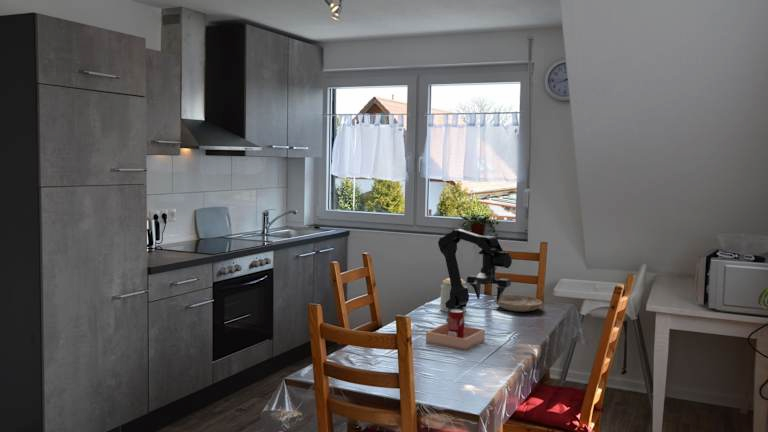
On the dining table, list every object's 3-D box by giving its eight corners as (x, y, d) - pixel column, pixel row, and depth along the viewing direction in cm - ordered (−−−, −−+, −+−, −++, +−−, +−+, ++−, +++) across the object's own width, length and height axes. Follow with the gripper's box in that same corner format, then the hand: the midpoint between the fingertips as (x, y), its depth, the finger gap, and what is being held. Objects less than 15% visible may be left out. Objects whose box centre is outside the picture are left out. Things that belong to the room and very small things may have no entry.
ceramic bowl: (513, 316, 328) (514, 306, 327) (484, 306, 348) (485, 296, 348) (551, 312, 338) (552, 302, 338) (521, 302, 359) (521, 293, 358)
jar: (470, 309, 340) (472, 274, 338) (459, 314, 329) (460, 278, 327) (447, 305, 347) (448, 271, 345) (435, 310, 336) (436, 275, 334)
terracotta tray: (425, 342, 280) (426, 332, 280) (445, 333, 295) (446, 323, 295) (466, 350, 271) (466, 339, 270) (484, 340, 286) (484, 329, 286)
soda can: (456, 342, 278) (457, 313, 277) (443, 338, 283) (444, 310, 282) (466, 339, 283) (468, 310, 282) (454, 335, 288) (455, 307, 287)
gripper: (461, 265, 299) (460, 301, 300) (501, 269, 289) (500, 306, 290) (472, 262, 308) (471, 296, 309) (511, 266, 298) (510, 301, 299)
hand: (488, 300), depth 302 cm, fingers open, 9 cm apart
